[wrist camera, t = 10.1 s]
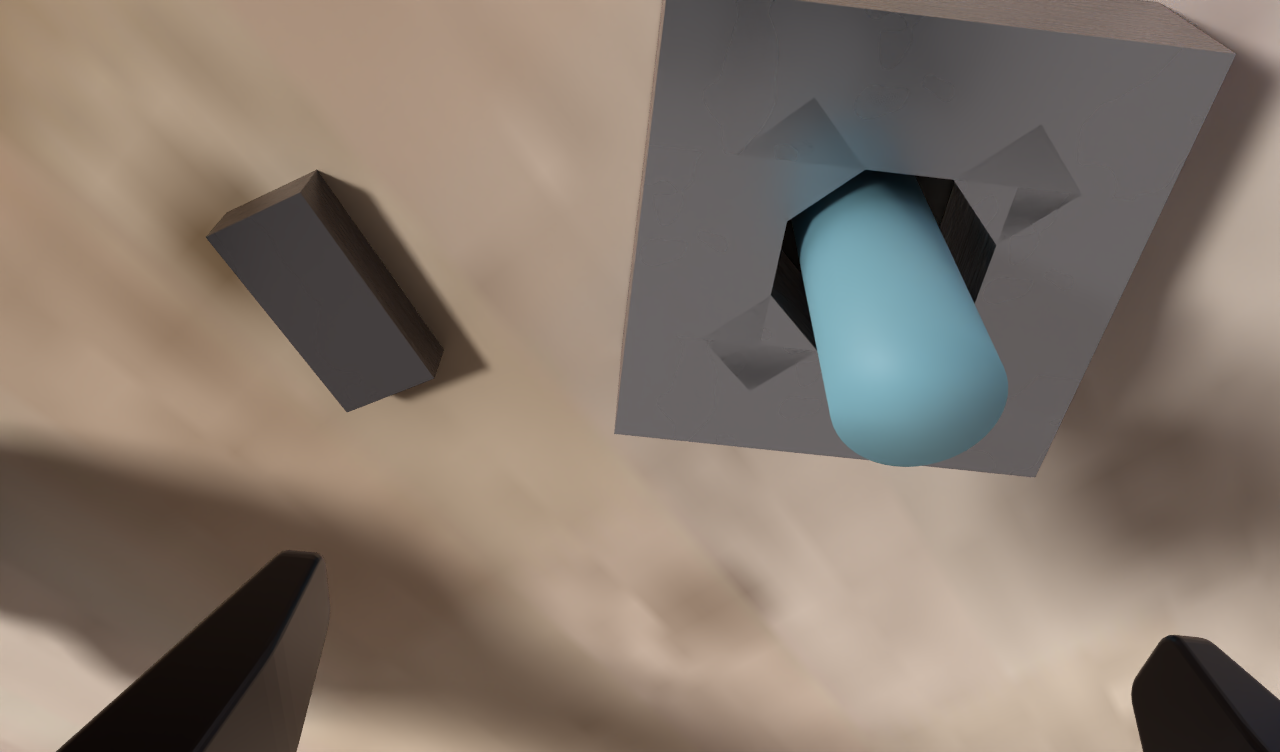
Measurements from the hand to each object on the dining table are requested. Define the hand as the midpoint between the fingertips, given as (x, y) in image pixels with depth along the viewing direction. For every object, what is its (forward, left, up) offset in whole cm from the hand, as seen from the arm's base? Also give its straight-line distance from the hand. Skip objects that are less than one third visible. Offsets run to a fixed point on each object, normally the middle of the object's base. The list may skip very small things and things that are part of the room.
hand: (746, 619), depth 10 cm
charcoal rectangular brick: (-4, +8, -12) cm, 15 cm away
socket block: (0, -3, -12) cm, 12 cm away
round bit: (0, -3, -12) cm, 12 cm away
